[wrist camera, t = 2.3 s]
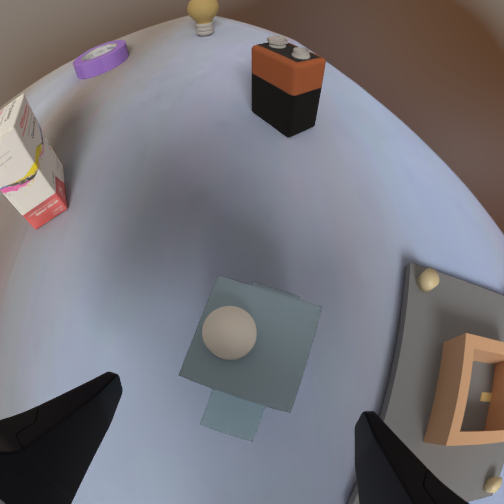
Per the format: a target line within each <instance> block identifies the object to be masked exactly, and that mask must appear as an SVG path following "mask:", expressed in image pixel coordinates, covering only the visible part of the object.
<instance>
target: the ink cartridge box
mask: <svg viewBox="0 0 504 504" xmlns="http://www.w3.org/2000/svg"><path fill="white" fill-rule="evenodd" d="M0 190H1V191H2V193H3V194H4V195H5V196H6V197H7V199H8V200H9V201H10V202H11V203H12V204H13V205H14V207H15V208H16V209H17V210H18V211H19V212H20V213H21V214H22V215H23V216H24V218H25V219H26V220H27V221H28V222H29V223H30V224H31V225H32V226H33V227H34V228H35V229H38V228H39V227H41V226H42V225H44V224H45V223H47V222H48V221H50V220H51V219H53V218H54V217H56V216H57V215H59V214H61V213H62V212H64V211H65V210H67V209H68V206H67V200H66V192H65V183H64V173H63V165H62V164H61V162H60V160H59V159H58V157H57V155H56V154H55V152H54V150H53V148H52V147H51V145H50V143H49V142H48V140H47V138H46V136H45V134H44V133H43V131H42V129H41V127H40V125H39V123H38V121H37V119H36V117H35V115H34V113H33V111H32V109H31V107H30V105H29V103H28V101H27V99H26V96H25V94H22V95H21V96H19V97H18V98H16V99H15V100H14V101H12V102H11V103H10V104H8V105H7V106H6V107H4V108H3V109H2V110H0Z"/></svg>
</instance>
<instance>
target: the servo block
mask: <svg viewBox="0 0 504 504" xmlns="http://www.w3.org/2000/svg"><path fill="white" fill-rule="evenodd" d="M299 299H300V296H297V295H294V294H291V293H287V292H284V291H281V290H277V289H274V288H271V287H267V286H264V285H261V284H258V283H254V282H252V285H248V284H245V283H241V282H238V281H235V280H232V279H229V278H226V277H223V276H218V278H217V281H216V283H215V285H214V288H213V290H212V293H211V295H210V298H209V300H208V302H207V305H206V307H205V310H204V312H203V315H202V317H201V320H200V322H199V325H198V327H197V330H196V332H195V335H194V337H193V340H192V342H191V345H190V347H189V350H188V352H187V355H186V358H185V360H184V363H183V365H182V368H181V370H180V373H179V376H182V377H184V378H187V379H189V380H192V381H194V382H197V383H199V384H202V385H204V386H207V387H210V388H212V389H213V391H212V393H211V396H210V399H209V401H208V404H207V407H206V409H205V412H204V415H203V417H202V420H201V423H200V424H201V425H203V426H206V427H209V428H211V429H214V430H217V431H220V432H223V433H226V434H229V435H232V436H235V437H238V438H241V439H244V440H247V441H251V442H252V441H253V439H254V436H255V433H256V431H257V428H258V425H259V423H260V420H261V417H262V414H263V412H264V409H265V406H267V407H270V408H274V409H277V410H281V411H285V412H289V413H290V412H291V409H292V407H293V404H294V401H295V398H296V395H297V391H298V388H299V385H300V382H301V379H302V376H303V372H304V369H305V366H306V363H307V359H308V356H309V352H310V349H311V345H312V342H313V338H314V335H315V331H316V327H317V324H318V320H319V316H320V312H321V308H322V307H321V306H318V305H314V304H311V303H307V302H304V301H300V300H299Z"/></svg>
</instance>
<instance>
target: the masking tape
mask: <svg viewBox="0 0 504 504" xmlns="http://www.w3.org/2000/svg"><path fill="white" fill-rule="evenodd" d="M128 56H129V55H128V51H127V46H126V42H125V41H124V40H116V41H111V42H107V43H104V44H101V45H99V46H96V47H94V48H92V49H90V50H88V51H87V52H85V53H83V54H82V55H80V56H79V57H78V58H76V59H75V61H74V62H73V65H74V68H75V71H76V74H77V77H78V78H79V79H87V78H91V77H95V76H97V75H100V74H102V73H105V72H107V71H109V70H111V69H113V68H115V67H117V66H118V65H120V64H121V63H123V62H124V61H125V60H126V59H127V58H128Z"/></svg>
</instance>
